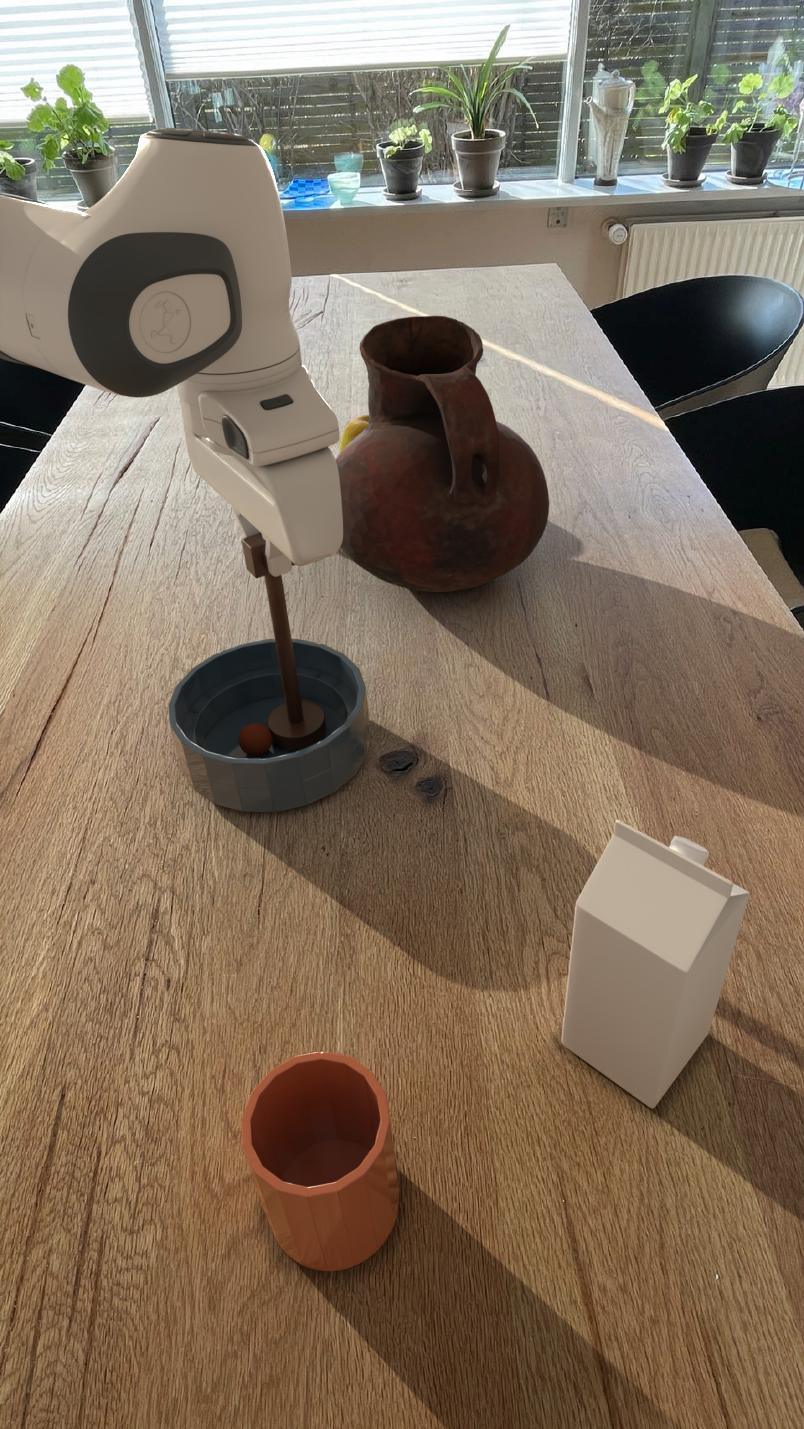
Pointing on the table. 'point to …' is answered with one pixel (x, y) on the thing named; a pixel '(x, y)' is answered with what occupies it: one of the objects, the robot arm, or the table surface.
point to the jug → (436, 466)
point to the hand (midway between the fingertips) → (269, 562)
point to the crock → (323, 1159)
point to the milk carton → (648, 960)
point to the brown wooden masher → (284, 663)
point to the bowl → (248, 693)
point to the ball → (255, 739)
